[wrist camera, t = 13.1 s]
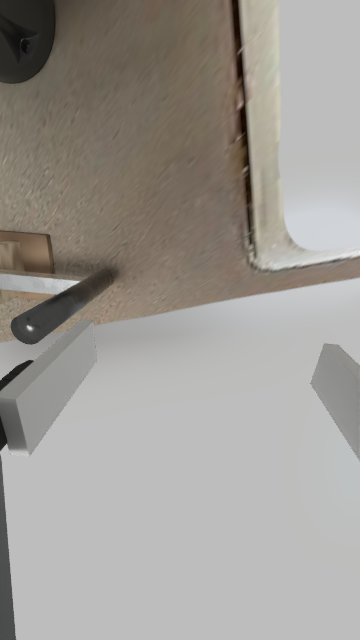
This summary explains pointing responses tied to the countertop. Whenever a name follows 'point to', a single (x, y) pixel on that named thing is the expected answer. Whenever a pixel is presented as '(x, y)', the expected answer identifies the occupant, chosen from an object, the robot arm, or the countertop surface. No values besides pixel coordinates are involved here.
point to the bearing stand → (25, 259)
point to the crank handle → (51, 299)
